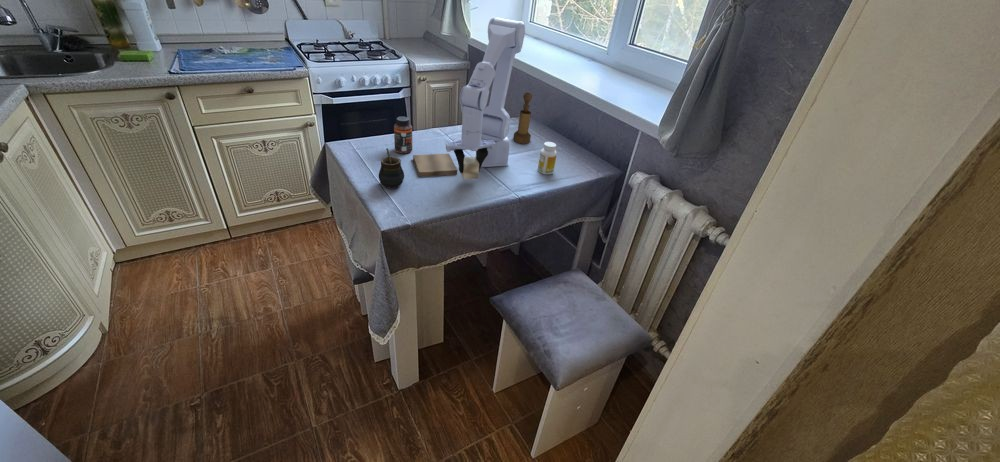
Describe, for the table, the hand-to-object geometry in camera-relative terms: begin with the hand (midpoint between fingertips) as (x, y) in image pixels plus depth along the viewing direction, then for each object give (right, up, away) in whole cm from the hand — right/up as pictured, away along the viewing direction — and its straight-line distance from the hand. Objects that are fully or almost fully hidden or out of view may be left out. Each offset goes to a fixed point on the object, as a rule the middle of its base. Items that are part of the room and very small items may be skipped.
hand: (469, 171), depth 131 cm
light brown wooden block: (-12, +2, +9) cm, 15 cm away
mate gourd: (-23, -5, -3) cm, 23 cm away
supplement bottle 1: (-24, +9, +16) cm, 30 cm away
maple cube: (0, -1, +1) cm, 1 cm away
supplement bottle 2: (+25, +2, +14) cm, 29 cm away
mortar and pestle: (+18, +16, +33) cm, 41 cm away
